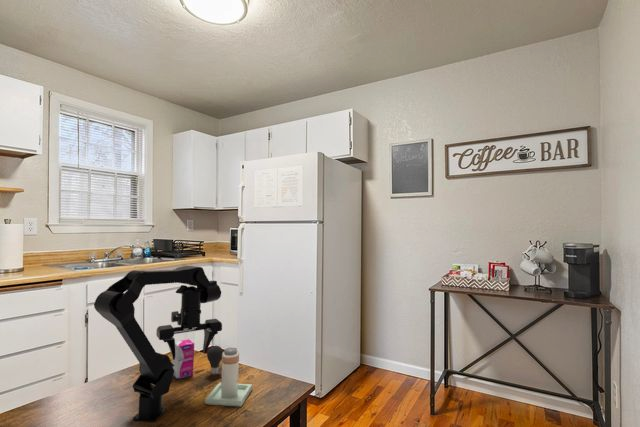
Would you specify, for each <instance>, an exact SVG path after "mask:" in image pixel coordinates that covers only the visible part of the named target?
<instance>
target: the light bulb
mask: <svg viewBox="0 0 640 427" xmlns="http://www.w3.org/2000/svg"><path fill="white" fill-rule="evenodd" d="M223 352H224V349H223V348H222V347H221V346H220V345H213V346H211V347H209V348H208V349H207V351H206V353H207V354H206V356H207V361H208V362H209V364H210V369H211V370H210V371H211V374H212V375H214V376H215V375H217V374H218V373H219V367H220V364H221V362H222V353H223Z"/></svg>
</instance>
